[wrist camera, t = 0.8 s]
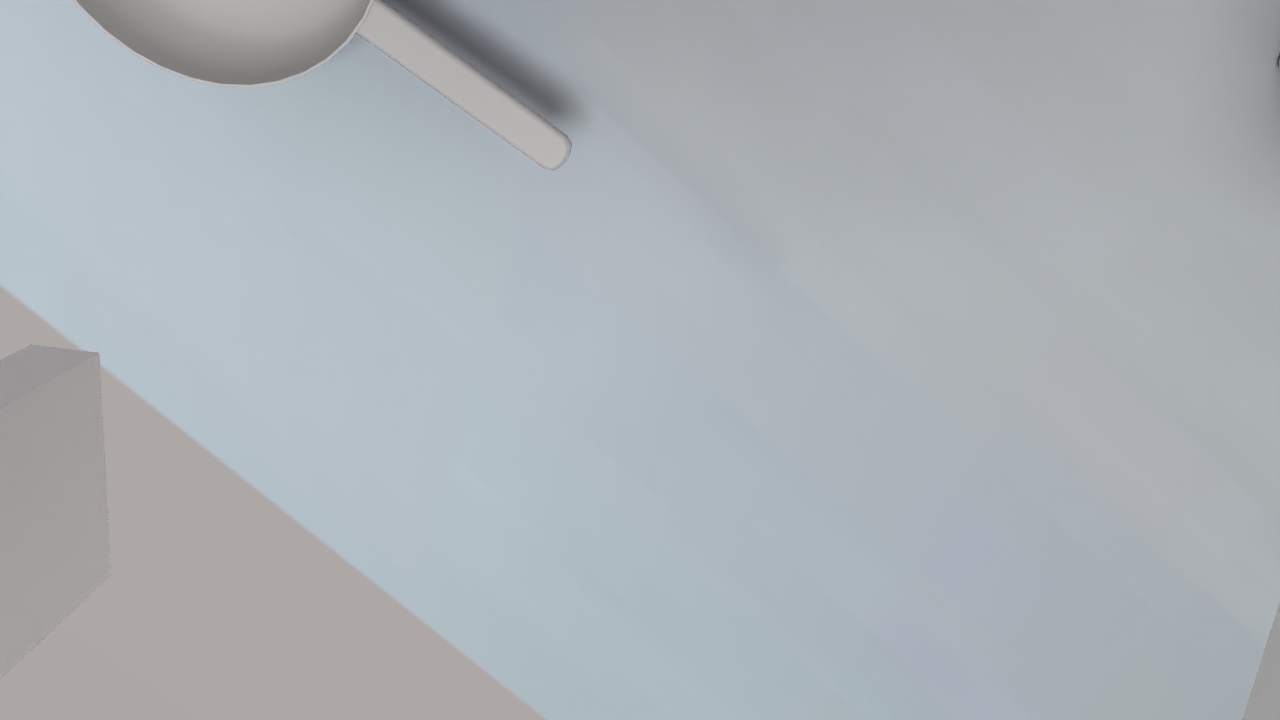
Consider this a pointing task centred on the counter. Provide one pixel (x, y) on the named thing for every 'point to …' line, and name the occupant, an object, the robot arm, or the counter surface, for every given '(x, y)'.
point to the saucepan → (312, 53)
